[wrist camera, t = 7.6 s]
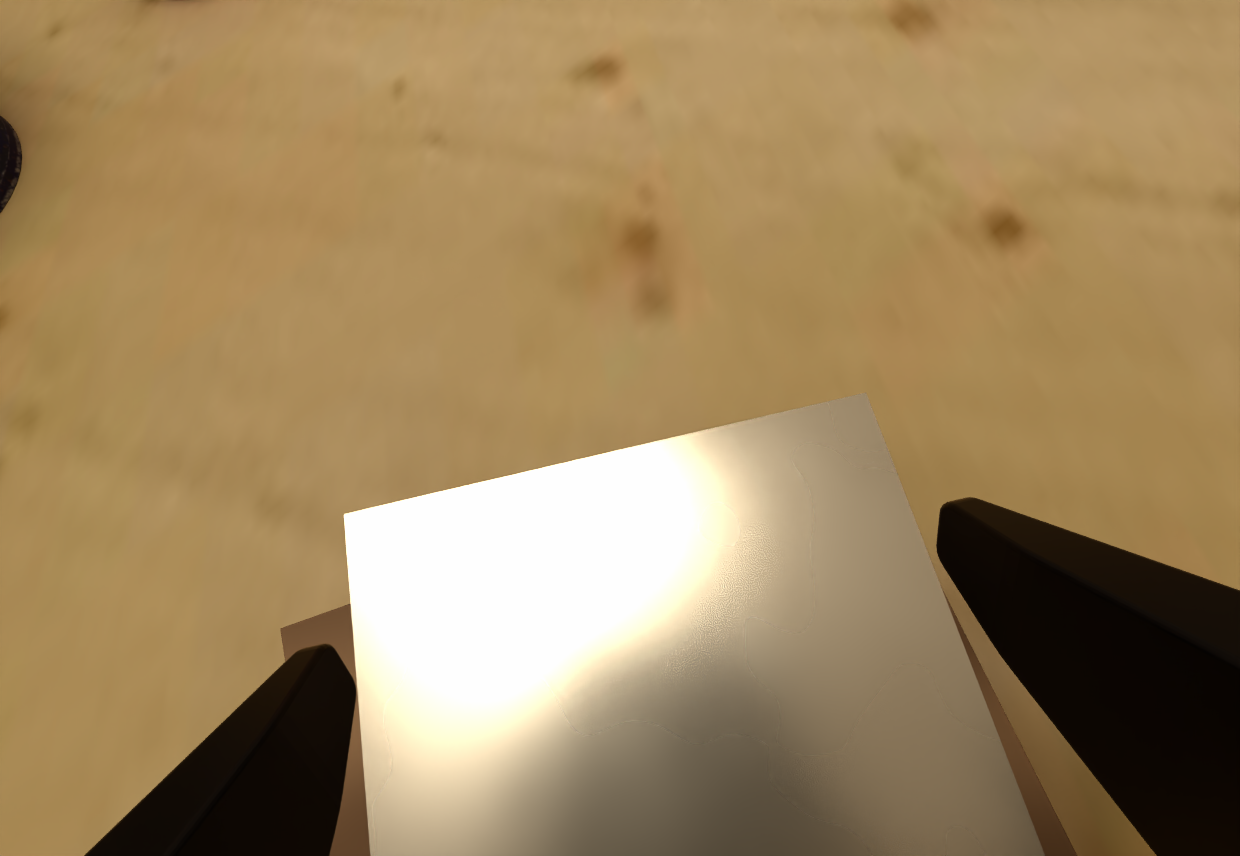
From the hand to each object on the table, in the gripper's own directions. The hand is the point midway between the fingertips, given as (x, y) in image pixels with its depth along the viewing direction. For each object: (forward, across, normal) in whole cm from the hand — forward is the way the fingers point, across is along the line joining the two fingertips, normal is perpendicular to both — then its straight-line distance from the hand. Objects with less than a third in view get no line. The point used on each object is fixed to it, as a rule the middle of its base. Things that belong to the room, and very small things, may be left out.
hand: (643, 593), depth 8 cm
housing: (+5, 0, +7) cm, 8 cm away
